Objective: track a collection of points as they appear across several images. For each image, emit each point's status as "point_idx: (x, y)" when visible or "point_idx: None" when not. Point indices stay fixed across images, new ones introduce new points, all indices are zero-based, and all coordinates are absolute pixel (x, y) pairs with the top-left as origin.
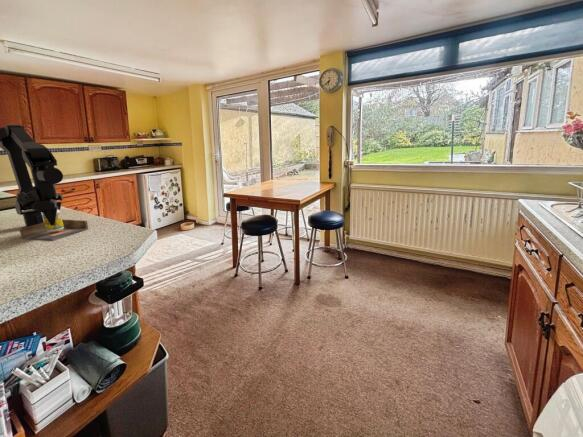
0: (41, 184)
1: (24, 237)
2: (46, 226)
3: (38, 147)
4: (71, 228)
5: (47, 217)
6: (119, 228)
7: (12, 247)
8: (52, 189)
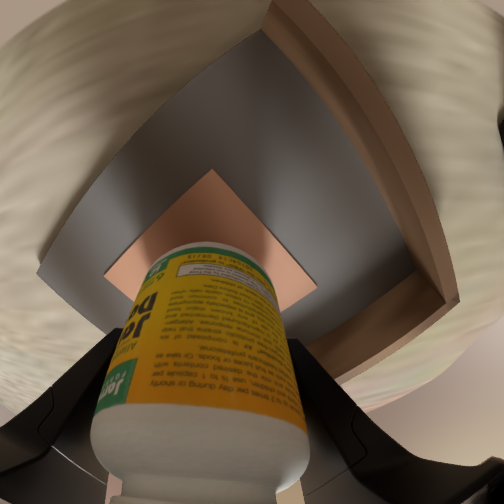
0: None
1: (241, 42)
2: (153, 279)
3: None
4: None
5: (55, 394)
6: None
7: (18, 59)
8: None
